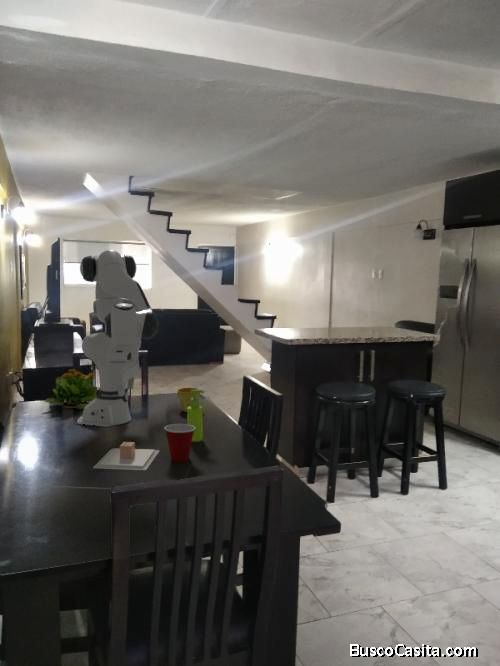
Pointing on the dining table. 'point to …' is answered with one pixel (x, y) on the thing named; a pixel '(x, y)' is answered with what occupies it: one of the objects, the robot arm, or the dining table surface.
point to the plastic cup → (179, 440)
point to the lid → (127, 456)
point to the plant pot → (186, 397)
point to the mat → (129, 468)
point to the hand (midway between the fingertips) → (126, 392)
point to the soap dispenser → (195, 416)
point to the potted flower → (74, 390)
